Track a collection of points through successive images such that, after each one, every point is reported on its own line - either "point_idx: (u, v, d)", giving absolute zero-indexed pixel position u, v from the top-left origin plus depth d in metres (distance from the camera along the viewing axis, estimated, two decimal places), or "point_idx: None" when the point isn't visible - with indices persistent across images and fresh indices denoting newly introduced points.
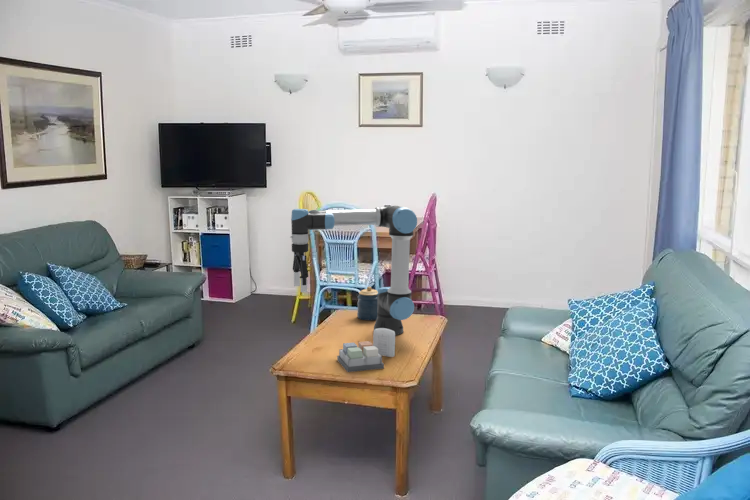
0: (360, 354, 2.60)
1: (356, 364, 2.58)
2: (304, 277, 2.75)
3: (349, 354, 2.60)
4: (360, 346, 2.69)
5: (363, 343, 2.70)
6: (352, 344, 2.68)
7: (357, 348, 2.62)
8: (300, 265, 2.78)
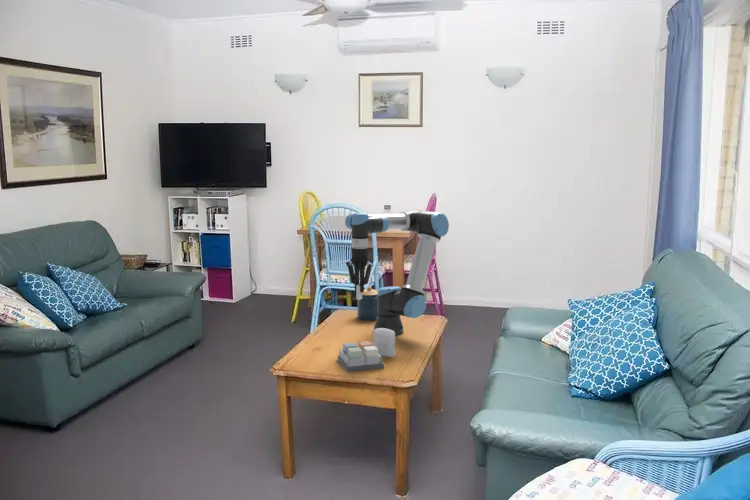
0: (360, 354, 2.60)
1: (356, 364, 2.58)
2: (364, 284, 2.79)
3: (349, 354, 2.60)
4: (360, 346, 2.69)
5: (363, 343, 2.70)
6: (352, 344, 2.68)
7: (357, 348, 2.62)
8: (362, 272, 2.78)
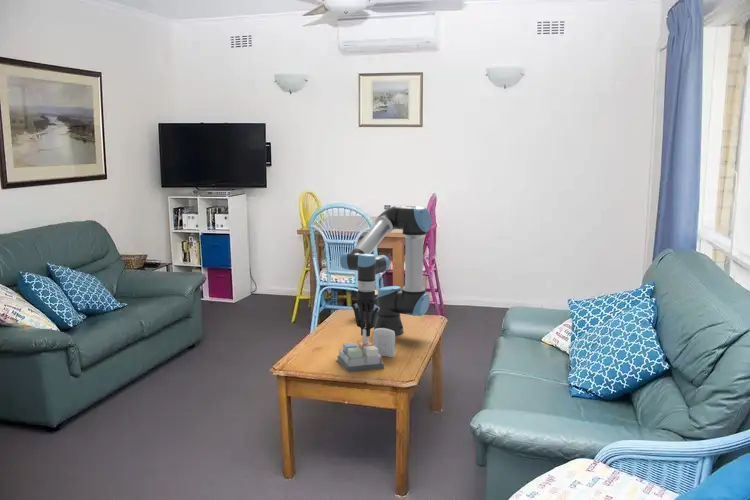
0: (360, 354, 2.60)
1: (356, 364, 2.58)
2: None
3: (349, 354, 2.60)
4: (360, 346, 2.69)
5: None
6: (352, 344, 2.68)
7: (357, 348, 2.62)
8: (368, 315, 2.66)
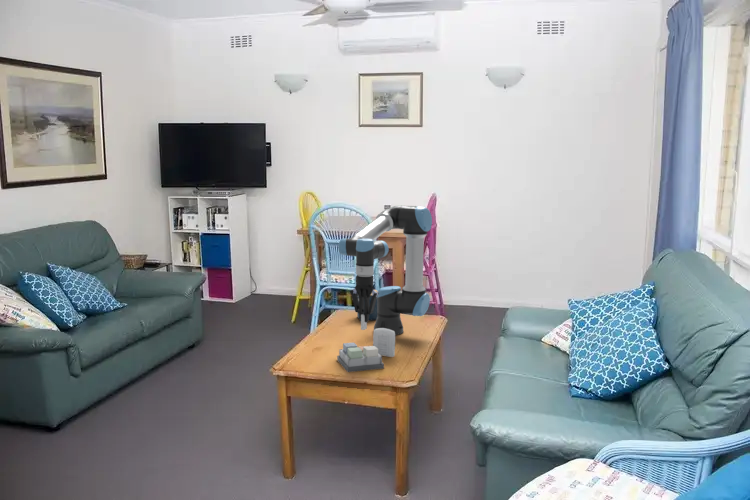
0: (360, 354, 2.60)
1: (356, 364, 2.58)
2: (369, 313, 2.65)
3: (349, 354, 2.60)
4: None
5: None
6: (352, 344, 2.68)
7: (357, 348, 2.62)
8: (367, 301, 2.64)
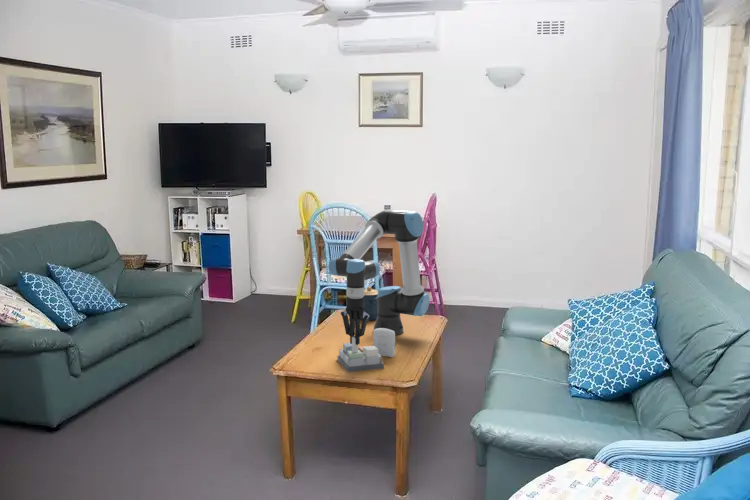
0: (360, 357, 2.60)
1: (356, 364, 2.58)
2: (360, 336, 2.59)
3: (349, 357, 2.60)
4: (360, 350, 2.69)
5: None
6: None
7: (357, 351, 2.63)
8: (358, 323, 2.58)
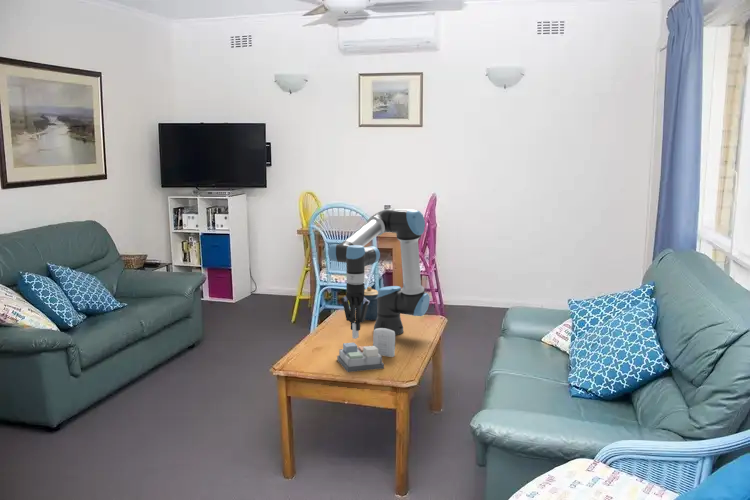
0: None
1: (356, 364, 2.58)
2: None
3: None
4: (360, 350, 2.69)
5: None
6: (352, 344, 2.68)
7: (357, 353, 2.63)
8: (358, 309, 2.57)
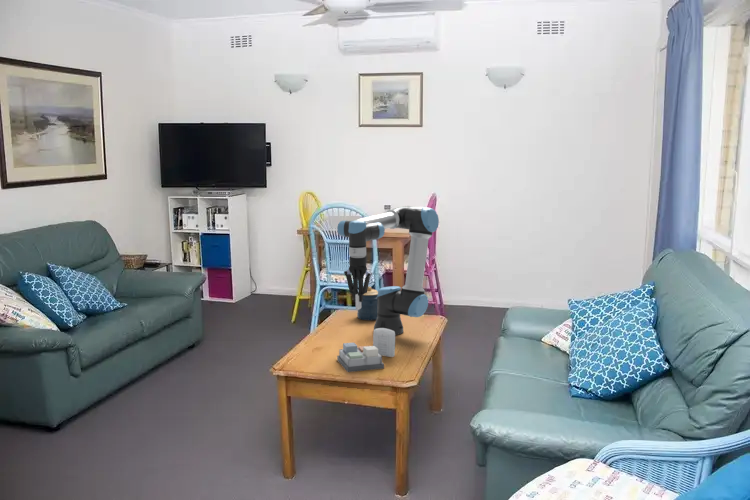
0: None
1: (356, 364, 2.58)
2: (363, 293, 2.72)
3: None
4: (360, 350, 2.69)
5: None
6: (352, 344, 2.68)
7: (357, 353, 2.63)
8: (361, 281, 2.71)
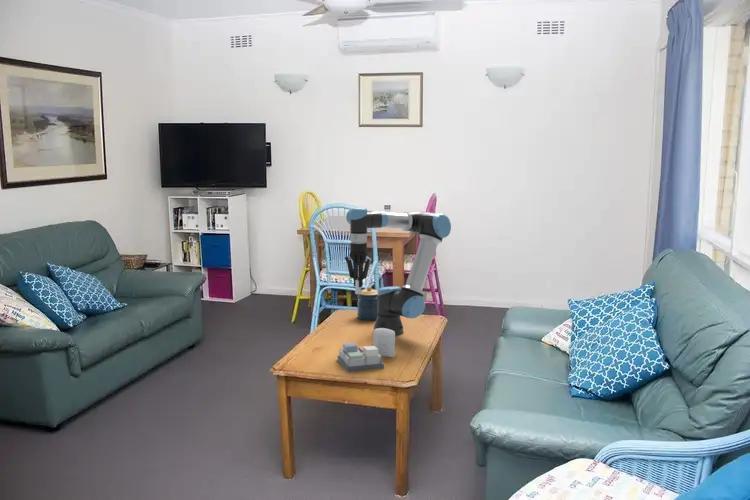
0: None
1: (356, 364, 2.58)
2: None
3: None
4: (360, 350, 2.69)
5: None
6: (352, 344, 2.68)
7: (357, 353, 2.63)
8: (361, 267, 2.80)
